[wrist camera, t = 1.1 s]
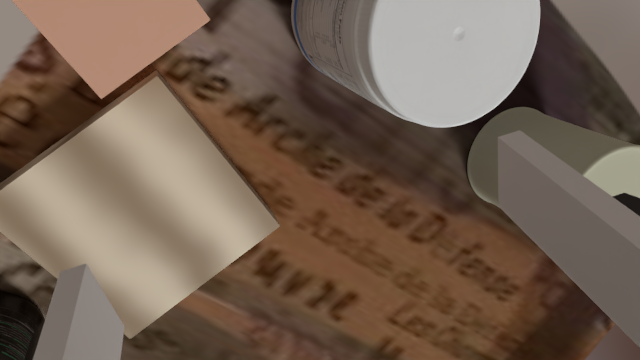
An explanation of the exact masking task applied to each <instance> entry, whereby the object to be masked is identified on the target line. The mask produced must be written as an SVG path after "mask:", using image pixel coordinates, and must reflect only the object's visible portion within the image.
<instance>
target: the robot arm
mask: <svg viewBox="0 0 640 360" xmlns="http://www.w3.org/2000/svg"><path fill="white" fill-rule="evenodd" d="M498 203H499V207H500V208H501V209H502V210H503V211H504V212H505V213H506V214H507V215H508V216H509V217H510V218H511V219H512V220H513V221H514V222H515V223H516V224H517V225H518V226H519V227H520V228H521V229H522V230H523V231H524V232H525V233H526V234H527V235H528V236H529V237H530V238H531V239H532V240H533V241H534V242H535V243H536V244H537V245H538V246H539V247H540V248H541V249H542V250H543V251H544V252H545V253H546V254H547V255H548V256H549V257H550V258H551V259H552V260H553V261H554V262H555V263H556V264H557V265H558V266H559V267H560V268H561V269H562V270H563V271H564V272H565V273H566V274H567V275H568V276H569V277H570V278H571V279H572V280H573V281H574V282H575V283H576V284H577V285H578V286H579V287H580V288H581V289H582V290H583V291H584V292H585V293H586V294H587V295H588V296H589V297H590V298H591V299H592V300H593V301H594V302H595V303H596V304H597V305H598V306H599V307H600V308H601V309H602V310H603V311H604V312H605V313H606V314H607V315H608V316H609V317H610V318H611V319H612V320H613V321H614V322H615V323H616V324H617V325H618V326H619V327H620V328H621V329H622V330H623V331H624V332H625V333H626V334H627V335H628V336H629V337H630V338H631V339H632V340H633V341H634V342H635V343H636V344H637V345H638V346H639V347H640V198H638V197H635V196H633V195H630V194H627V193H622V194H619V195H616V196H613V197H612V196H611V195H609V194H608V193H606V192H605V191H604V190H602V189H601V188H600V187H598V186H597V185H595V184H594V183H593V182H591V181H590V180H588V179H587V178H586V177H584V176H583V175H581V174H580V173H579V172H577V171H576V170H574V169H573V168H572V167H570V166H569V165H567V164H566V163H565V162H563V161H562V160H561V159H559V158H558V157H556V156H555V155H554V154H552V153H551V152H549V151H548V150H547V149H545V148H544V147H542V146H541V145H540V144H538V143H537V142H535V141H534V140H533V139H531V138H530V137H528V136H527V135H526V134H524V133H523V132H522V131H520V130H519V131H516V132H512V133H509V134H506V135H503V136H499V137H498ZM123 333H124V325H123V323H122V321H121V320H120V318H119V317H118V315H117V313H116V312H115V310H114V308H113V307H112V305H111V303H110V302H109V300H108V298H107V297H106V295H105V293H104V292H103V290H102V288H101V287H100V285H99V283H98V282H97V280H96V278H95V277H94V275H93V274H92V272H91V270H90V269H89V267H88V265H87V264H83V265H80V266H76V267H73V268H70V269H67V270H63V271H60V274H59V277H58V280H57V283H56V287H55V290H54V293H53V296H52V300H51V303H50V306H49V309H48V312H47V316H46V319H45V322H44V325H43V328H42V332H41V335H40V338H39V341H38V344H37V348H36V351H35V354H34V357H33V360H120V357H121V349H122V341H123Z"/></svg>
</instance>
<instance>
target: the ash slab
mask: <svg viewBox="0 0 640 360" xmlns="http://www.w3.org/2000/svg"><path fill="white" fill-rule="evenodd" d="M278 227H280V225H279V223H278V221H277V219H276V217H275V216H274V214H273V212H272V211H271V210H270V209H269V207H268V206H267V205H266V204H265V202H264V201H263V200H262V199H261V197H260V196H259V195H258V194H257V193H256V191H255V190H254V189H253V188H252V186H251V185H250V184H249V183H248V182H247V180H246V179H245V178H244V177H243V175H242V174H241V173H240V172H239V170H238V169H237V168H236V167H235V166H234V164H233V163H232V162H231V161H230V159H229V158H228V157H227V156H226V154H225V153H224V152H223V151H222V150H221V148H220V147H219V146H218V145H217V143H216V142H215V141H214V140H213V139H212V137H211V136H210V135H209V134H208V132H207V131H206V130H205V129H204V127H203V126H202V125H201V124H200V123H199V121H198V120H197V119H196V118H195V116H194V115H193V114H192V113H191V112H190V110H189V109H188V108H187V107H186V105H185V104H184V103H183V102H182V100H181V99H180V98H179V97H178V96H177V94H176V93H175V92H174V91H173V89H172V88H171V87H170V86H169V84H168V83H167V82H166V81H165V80H164V78H163V77H162V76H161V75H160V73H159V72H158V71H157V70H155V71H154V72H152V73H151V74H150V75H148V76H147V77H146V78H144V79H143V80H142V81H140V82H139V83H137V84H136V85H135V86H133V87H132V88H131V89H129V90H128V91H126V92H125V93H124V94H122V95H121V96H120V97H118V98H117V99H115V100H114V101H113V102H111V103H110V104H109V105H107V106H106V107H104V108H103V109H102V110H100V111H99V112H98V113H96V114H95V115H93V116H92V117H91V118H89V119H88V120H87V121H85V122H84V123H82V124H81V125H80V126H78V127H77V128H76V129H74V130H73V131H71V132H70V133H69V134H67V135H66V136H65V137H63V138H62V139H61V140H59V141H58V142H56V143H55V144H54V145H52V146H51V147H50V148H48V149H47V150H45V151H44V152H43V153H41V154H40V155H39V156H37V157H36V158H34V159H33V160H32V161H30V162H29V163H28V164H26V165H25V166H23V167H22V168H21V169H19V170H18V171H17V172H15V173H14V174H12V175H11V176H10V177H8V178H7V179H6V180H4V181H3V182H1V183H0V232H1V233H2V234H4V235H5V236H6V237H7V238H8V239H10V240H11V241H12V242H13V243H14V244H16V245H17V246H18V247H19V248H20V249H22V250H23V251H24V252H25V253H27V254H28V255H29V256H30V257H31V258H33V259H34V260H35V261H36V262H37V263H39V264H40V265H41V266H42V267H44V268H45V269H46V270H47V271H48V272H50V273H51V274H52V275H53V276H54V277H56V278H57V279H58V277H59V274H60V271H63V270H67V269H70V268H73V267H76V266H80V265H83V264H87V265H88V267H89V269H90V270H91V272H92V274H93V275H94V277H95V278H96V280H97V282H98V283H99V285H100V287H101V288H102V290H103V292H104V293H105V295H106V297H107V298H108V300H109V302H110V303H111V305H112V307H113V308H114V310H115V312H116V313H117V315H118V317H119V318H120V320H121V321H122V323H123V325H124V333H123V334H125V335H126V336H127V337H128V338H130V339H131V338H132V337H134V336H135V335H136V334H138V333H139V332H140V331H142V330H143V329H144V328H146V327H147V326H148V325H149V324H151V323H152V322H153V321H155V320H156V319H157V318H159V317H160V316H161V315H163V314H164V313H165V312H167V311H168V310H169V309H171V308H172V307H173V306H175V305H176V304H177V303H179V302H180V301H181V300H183V299H184V298H185V297H187V296H188V295H189V294H191V293H192V292H193V291H195V290H196V289H197V288H199V287H200V286H201V285H203V284H204V283H205V282H207V281H208V280H209V279H211V278H212V277H213V276H215V275H216V274H217V273H219V272H220V271H221V270H223V269H224V268H225V267H227V266H228V265H229V264H231V263H232V262H233V261H235V260H236V259H237V258H238V257H240V256H241V255H242V254H244V253H245V252H246V251H248V250H249V249H250V248H252V247H253V246H254V245H256V244H257V243H258V242H260V241H261V240H262V239H264V238H265V237H266V236H268V235H269V234H270V233H272V232H273V231H274V230H276V229H277V228H278Z"/></svg>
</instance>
